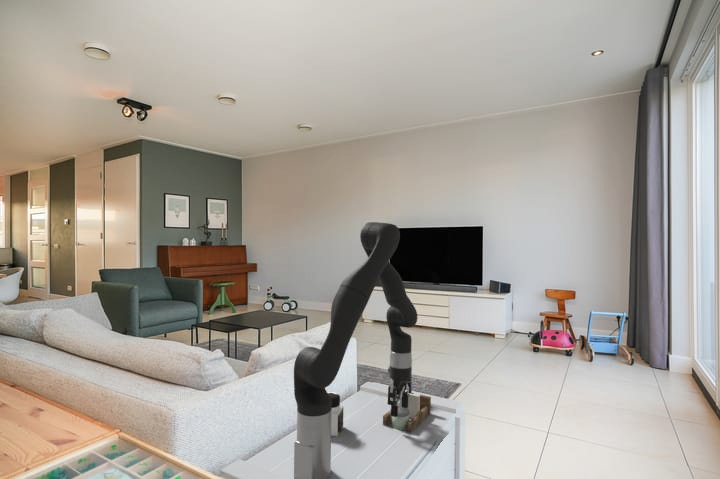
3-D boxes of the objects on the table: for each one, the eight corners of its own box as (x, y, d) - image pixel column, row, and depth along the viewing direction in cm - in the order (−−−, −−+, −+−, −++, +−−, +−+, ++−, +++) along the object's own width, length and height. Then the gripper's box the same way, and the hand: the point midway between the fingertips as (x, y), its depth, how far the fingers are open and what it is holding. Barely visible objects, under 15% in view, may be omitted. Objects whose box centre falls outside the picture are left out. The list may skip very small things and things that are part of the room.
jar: (404, 431, 129) (405, 416, 129) (388, 426, 132) (388, 412, 132) (412, 424, 134) (412, 409, 134) (396, 419, 137) (396, 405, 138)
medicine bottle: (338, 437, 125) (338, 399, 125) (316, 434, 126) (317, 397, 126) (343, 426, 132) (343, 391, 132) (323, 424, 133) (323, 389, 133)
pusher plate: (418, 419, 137) (418, 396, 138) (399, 414, 141) (399, 392, 141) (425, 412, 143) (426, 390, 144) (407, 407, 147) (407, 386, 147)
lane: (411, 432, 128) (411, 414, 128) (382, 424, 134) (382, 407, 134) (430, 413, 143) (430, 396, 143) (403, 406, 149) (403, 390, 149)
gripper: (402, 371, 126) (401, 422, 125) (418, 361, 138) (417, 407, 137) (381, 367, 129) (380, 416, 129) (399, 357, 142) (398, 402, 141)
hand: (399, 411), depth 133 cm, fingers open, 8 cm apart
